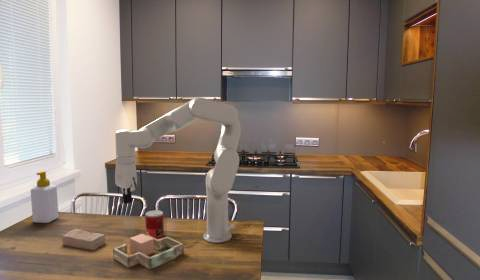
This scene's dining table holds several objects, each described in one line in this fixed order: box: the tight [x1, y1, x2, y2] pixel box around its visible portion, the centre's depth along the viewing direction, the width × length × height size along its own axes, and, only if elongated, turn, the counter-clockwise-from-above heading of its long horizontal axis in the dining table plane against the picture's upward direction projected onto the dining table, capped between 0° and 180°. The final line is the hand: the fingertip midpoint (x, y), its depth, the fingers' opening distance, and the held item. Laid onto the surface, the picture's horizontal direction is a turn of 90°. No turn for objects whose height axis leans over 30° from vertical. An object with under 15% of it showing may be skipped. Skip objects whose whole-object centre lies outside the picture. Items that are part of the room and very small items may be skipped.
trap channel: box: [112, 235, 185, 270], centre depth 143 cm, size 22×19×4 cm
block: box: [129, 233, 155, 256], centre depth 146 cm, size 6×8×6 cm
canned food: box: [144, 209, 165, 240], centre depth 161 cm, size 8×8×11 cm
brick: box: [61, 228, 106, 251], centre depth 154 cm, size 17×8×5 cm, turn 72°
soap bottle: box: [30, 170, 60, 224], centre depth 180 cm, size 9×9×25 cm
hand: (127, 202), depth 150 cm, fingers closed
